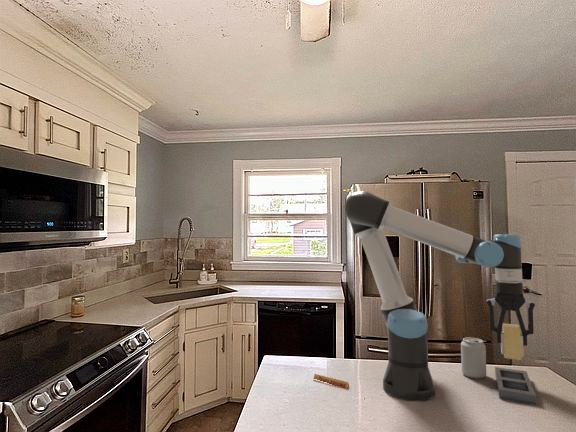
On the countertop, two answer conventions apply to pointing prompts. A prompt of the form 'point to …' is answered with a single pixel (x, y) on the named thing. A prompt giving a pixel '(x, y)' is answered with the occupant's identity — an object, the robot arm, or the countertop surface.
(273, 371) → the countertop surface
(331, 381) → the chocolate bar
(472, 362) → the can
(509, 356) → the brass block
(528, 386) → the rack
